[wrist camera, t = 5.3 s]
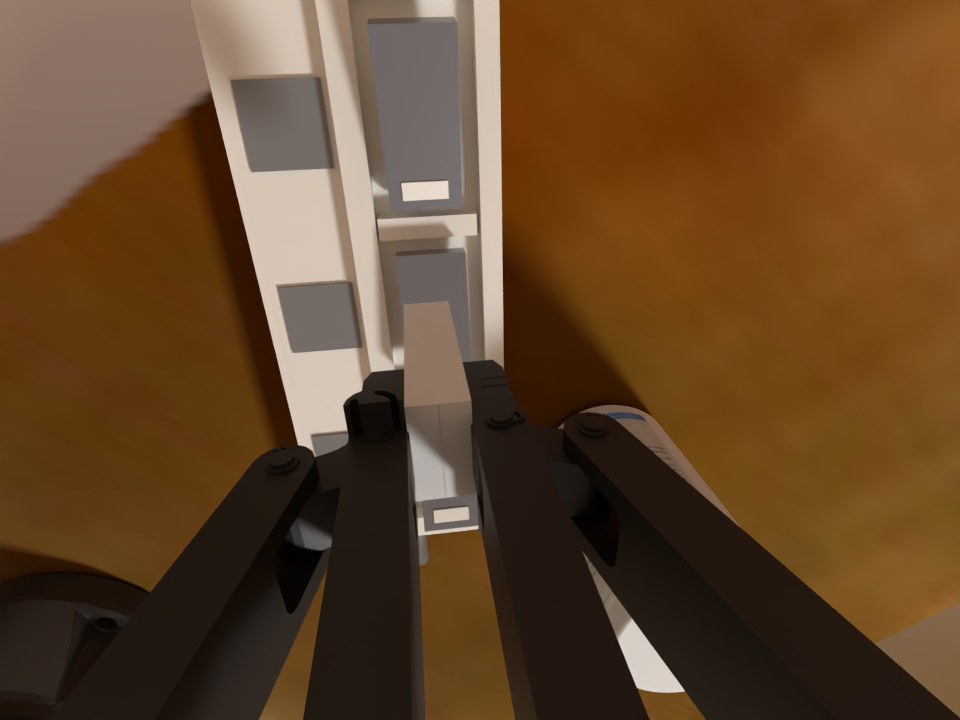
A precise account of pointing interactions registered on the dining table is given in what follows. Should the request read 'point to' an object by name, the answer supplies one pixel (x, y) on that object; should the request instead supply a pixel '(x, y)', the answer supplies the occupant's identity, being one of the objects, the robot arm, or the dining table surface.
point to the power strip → (346, 190)
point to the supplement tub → (632, 641)
